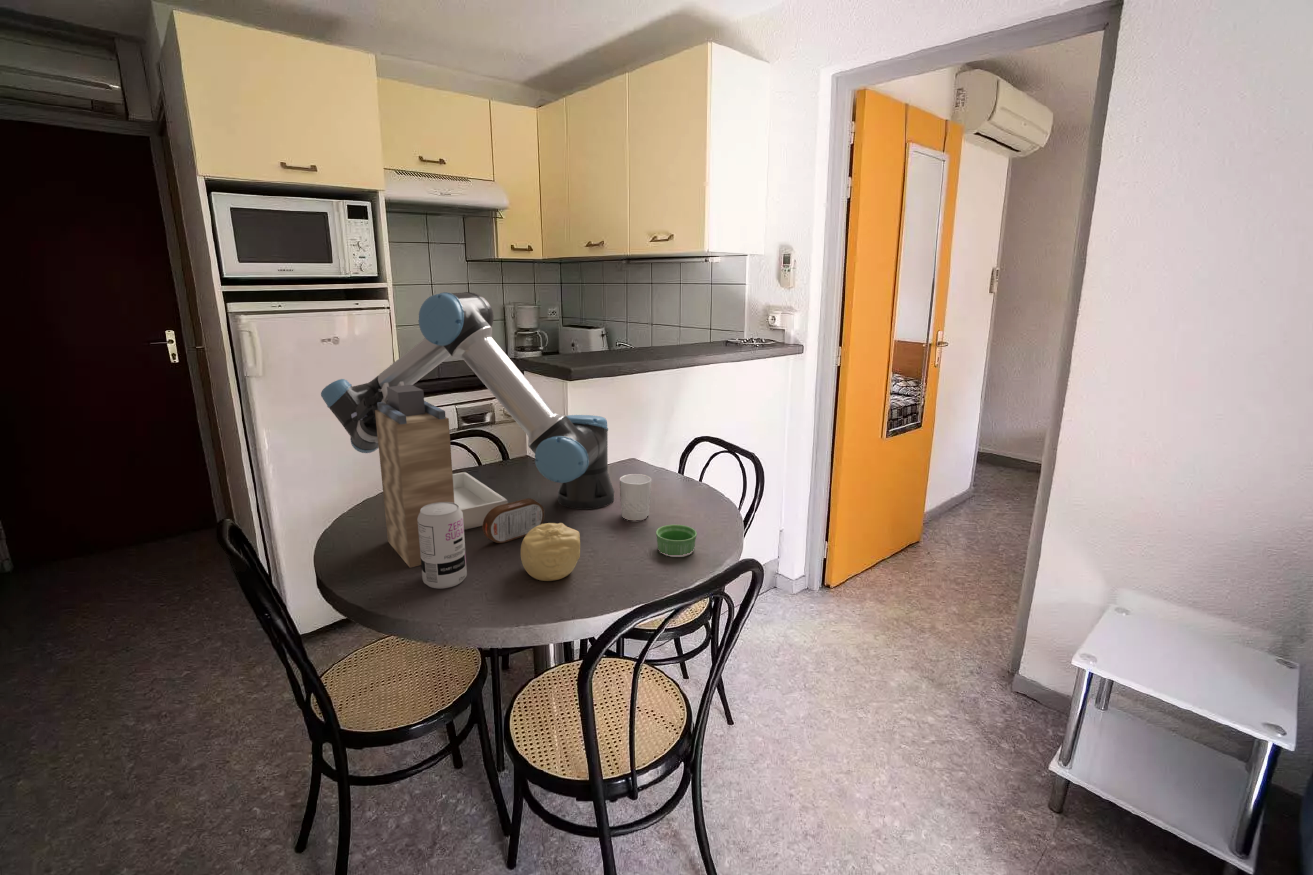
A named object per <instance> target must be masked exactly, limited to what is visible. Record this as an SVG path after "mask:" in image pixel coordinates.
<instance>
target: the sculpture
mask: <svg viewBox="0 0 1313 875" xmlns="http://www.w3.org/2000/svg"><path fill="white" fill-rule="evenodd" d="M580 558H581V536H580V531H578V530H576V529H574V528H571V527H568V526H567V525H566V524H564V523H563V522H559V523H556V522H548V523H542V524H541V525H538V526H536V527H534V528H533V529H531V530H530V531H529V532H528V533H527V534H526V536H524V538H523V539H522V542H521V545H520V559H521V563H522V567H523V568H524V570H525V571H526V572H527V574H528V575H529V576H531V578H533V579H535V580H537V581H538V580H539V581H542V582H543V581H544V582H552V581H553V582H554V581H558V580H561V579H564V578H565V577H567V576H569V575H570V574H571V573H572V572H573V571H574V569H575V567H576V565H577V563H578V561H579V559H580Z"/></svg>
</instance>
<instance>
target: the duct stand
mask: <svg viewBox="0 0 1313 875" xmlns="http://www.w3.org/2000/svg"><path fill="white" fill-rule="evenodd" d="M424 405H425V414H421V415H413V416H406V415H404V414H402V413H401V412H399V411H397V410H396V409H394V408H392V407H391V406H389V405H387V404H386V403H384V402H378V403H377V406H378V410H375V416H376V426H377V436H378V446H379V448H378V454H379V456H378V457H379V464H380V466H379V467H380V472H381V473H380V474H381V482H382V495H383V503H384V504H383V505H384V514H385V523H386V534H387V541H388V543H389V544H390V546H391V547H392V548H393V549H394V551H395V552H396V553H397V554H398V555H399V556H400V557H401V559H402V560H403V561H404V563H406V565H407V566H408V568H410V569H411V568H415V567H419V566H421V556H420V544H419V533H418V521H417V518H418V515H419V513H420V510H421V508H422V507H424V506H426V505H428V504H432V503H437V502H452V503H454V488H453V474H454V473H453V463H452V448H451V447H452V446H451V435H450V434H451V433H450V419H449V417H447V416H446V410H444V409H442V408H441V407H437V406H436V405H434V404H432V403H430V402H429V401H426V400H424Z"/></svg>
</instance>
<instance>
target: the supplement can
mask: <svg viewBox="0 0 1313 875" xmlns="http://www.w3.org/2000/svg"><path fill="white" fill-rule="evenodd" d="M417 521H418V533H419V544H420V556H421V565H420V566H421V576H422V577H421V578H422V581H423V583H424V584H425V585H426V586H427V587H430V588H432V589H449V588H453V587H455V586H458V585H459V584H461V583H462V582H463V581H464V580H465V578H466V577H467V575H468V571H467V569H468V568H467V557H466V556H467V555H466V543H465V542H466V540H465V539H466V538H465V530H464V524H463V512H462V511H461V510H460V508H459V505H458V504H456V503H452V502H437V503H432V504H428V505H426V506H424V507H422V508H421V510H420V513H419V515H418V518H417Z"/></svg>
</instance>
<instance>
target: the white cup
mask: <svg viewBox="0 0 1313 875" xmlns="http://www.w3.org/2000/svg"><path fill="white" fill-rule="evenodd" d="M651 492H652V478H651V476H648V475H646V474H641V473H640V474H639V473H631V474H630V473H629V474H624V475H622V476H621V477H619V495H620V496H619V497H620V508H621V518H622V517H623V518H625V519H628V520H641V519H644V518H646V517H647V516H648V515H649V516H650V506H651V505H650V504H651ZM623 518H622V519H623ZM625 519H624V520H625ZM628 520H627V521H628Z"/></svg>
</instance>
